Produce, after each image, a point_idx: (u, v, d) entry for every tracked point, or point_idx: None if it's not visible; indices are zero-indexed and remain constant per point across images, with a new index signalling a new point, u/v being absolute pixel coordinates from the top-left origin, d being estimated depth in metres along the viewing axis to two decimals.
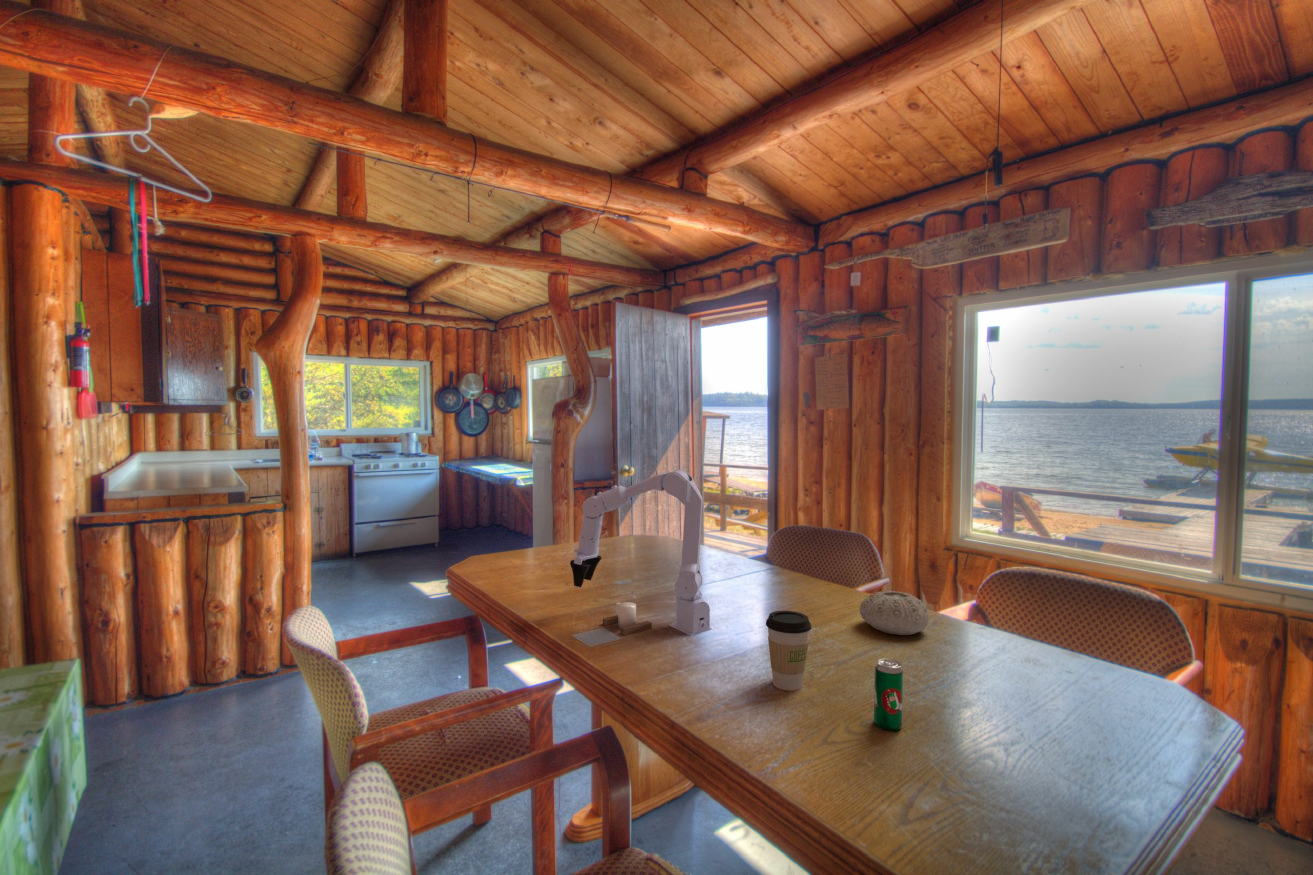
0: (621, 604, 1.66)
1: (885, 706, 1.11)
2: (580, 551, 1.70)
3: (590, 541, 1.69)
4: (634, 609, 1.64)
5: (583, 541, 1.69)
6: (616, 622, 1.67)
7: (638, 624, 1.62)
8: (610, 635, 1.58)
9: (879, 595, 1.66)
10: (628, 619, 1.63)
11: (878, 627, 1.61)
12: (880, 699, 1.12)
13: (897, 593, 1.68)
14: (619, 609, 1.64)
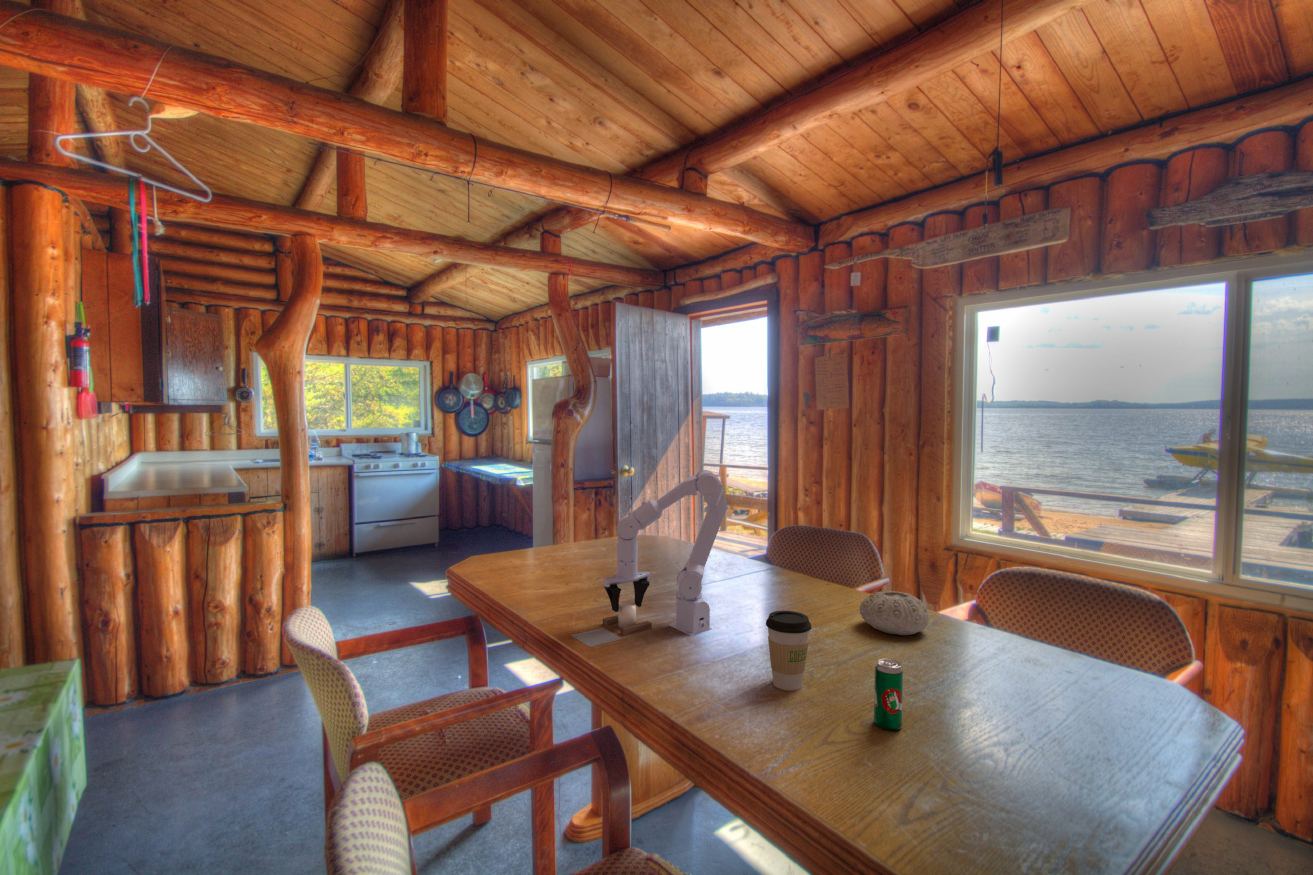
0: (621, 604, 1.65)
1: (885, 706, 1.11)
2: (617, 574, 1.64)
3: (622, 563, 1.62)
4: (634, 609, 1.64)
5: (617, 564, 1.64)
6: (616, 622, 1.67)
7: (638, 624, 1.62)
8: (610, 635, 1.58)
9: (879, 595, 1.66)
10: (628, 619, 1.63)
11: (878, 627, 1.61)
12: (880, 699, 1.12)
13: (897, 593, 1.68)
14: (619, 609, 1.64)
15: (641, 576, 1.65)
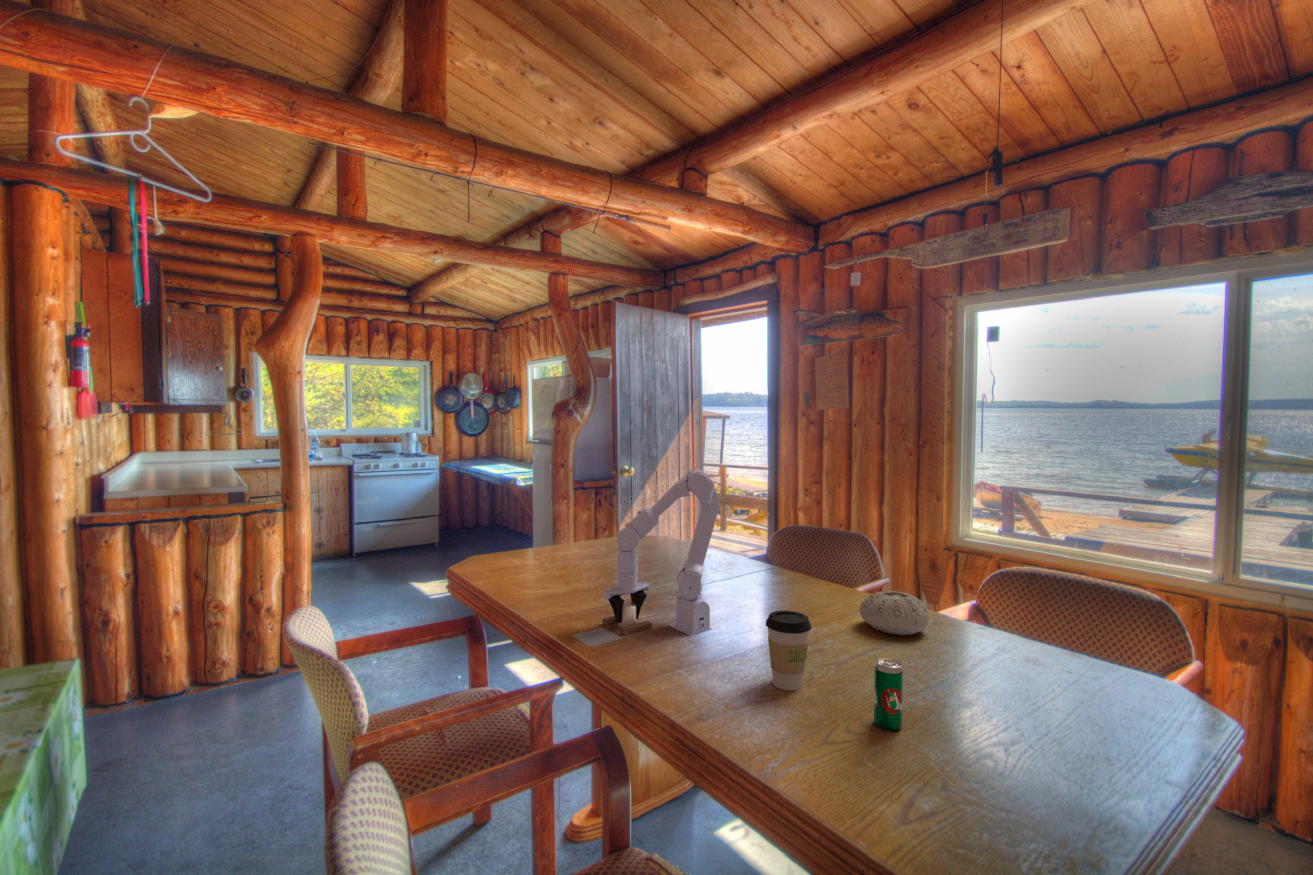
0: None
1: (885, 706, 1.11)
2: (617, 586, 1.64)
3: (622, 575, 1.62)
4: (634, 609, 1.64)
5: (617, 575, 1.64)
6: (616, 622, 1.67)
7: (638, 624, 1.62)
8: (610, 635, 1.58)
9: (879, 595, 1.66)
10: (628, 619, 1.63)
11: (878, 627, 1.61)
12: (880, 699, 1.12)
13: (897, 593, 1.68)
14: None
15: (641, 587, 1.66)
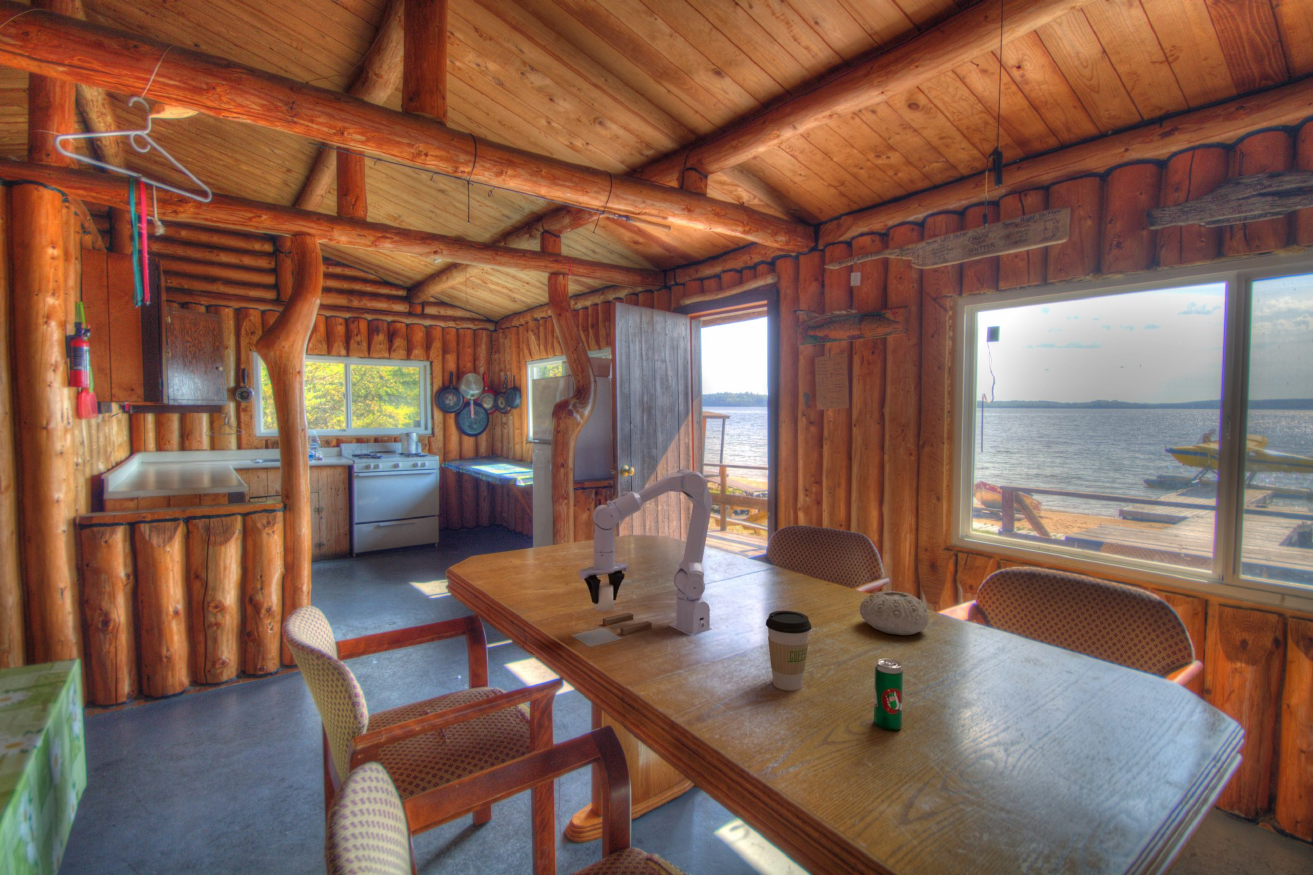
0: None
1: (885, 706, 1.11)
2: None
3: (598, 554, 1.56)
4: (611, 589, 1.57)
5: (594, 555, 1.58)
6: (616, 622, 1.67)
7: (638, 624, 1.62)
8: (610, 635, 1.58)
9: (879, 595, 1.66)
10: (605, 600, 1.56)
11: (878, 627, 1.61)
12: (880, 699, 1.12)
13: (897, 593, 1.68)
14: None
15: (619, 567, 1.59)
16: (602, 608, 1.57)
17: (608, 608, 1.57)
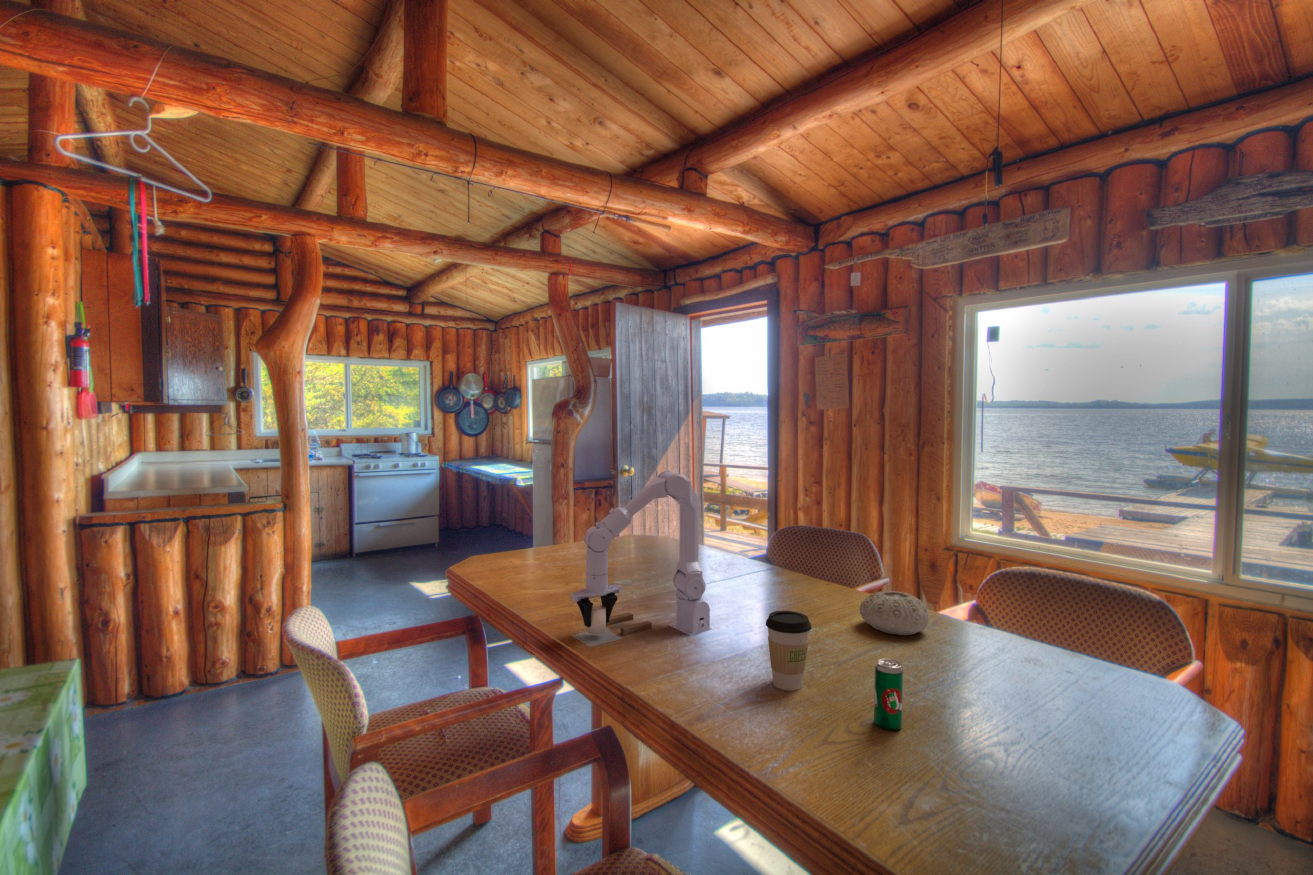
0: None
1: (885, 706, 1.11)
2: (586, 588, 1.56)
3: (590, 577, 1.54)
4: (603, 612, 1.56)
5: (586, 577, 1.56)
6: (616, 622, 1.67)
7: (638, 624, 1.62)
8: (610, 635, 1.58)
9: (879, 595, 1.66)
10: (597, 623, 1.55)
11: (878, 627, 1.61)
12: (880, 699, 1.12)
13: (897, 593, 1.68)
14: None
15: (612, 590, 1.57)
16: (594, 631, 1.55)
17: (601, 631, 1.55)
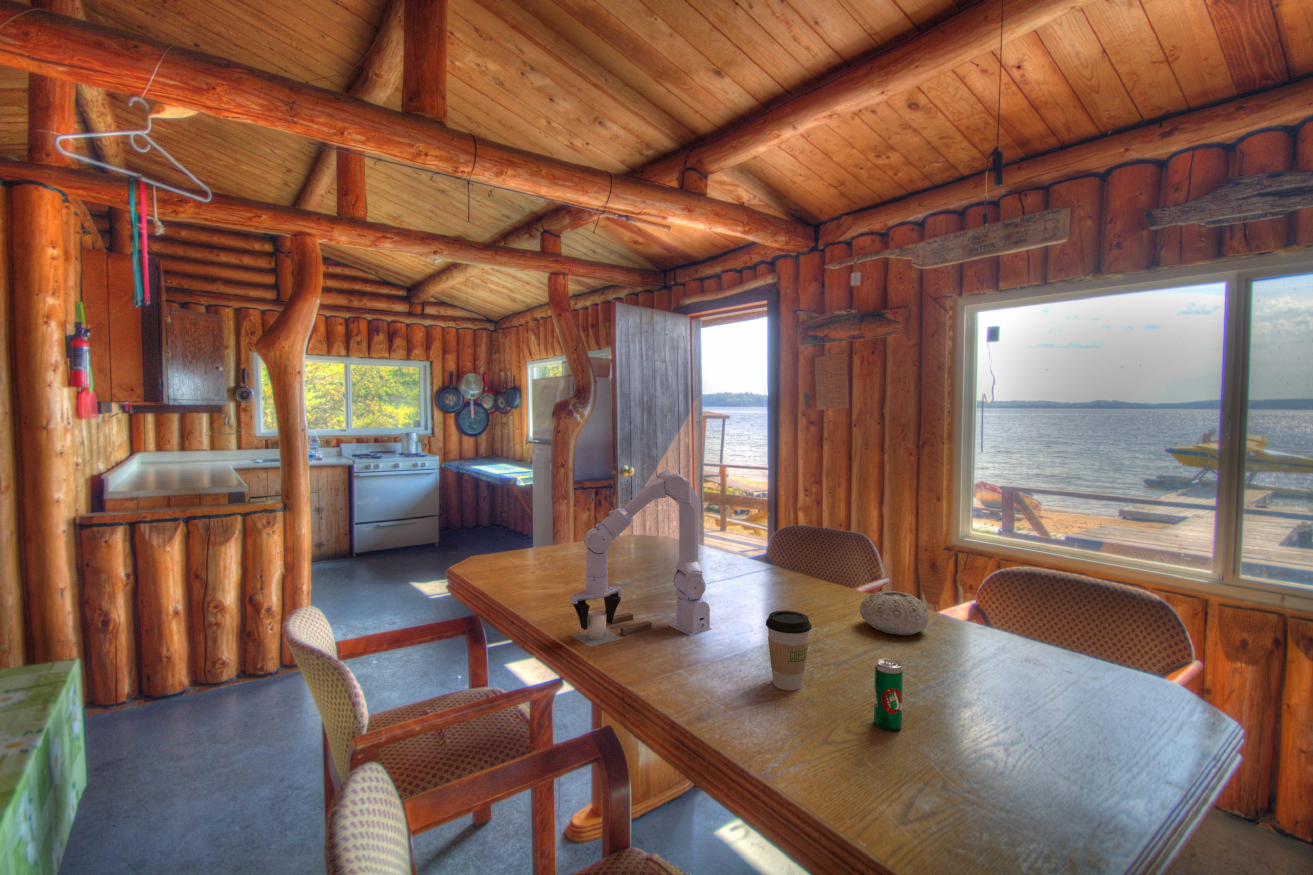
0: (591, 613, 1.57)
1: (885, 706, 1.11)
2: (586, 590, 1.56)
3: (590, 578, 1.54)
4: (604, 619, 1.56)
5: (586, 579, 1.56)
6: (616, 622, 1.67)
7: (638, 624, 1.62)
8: (610, 635, 1.58)
9: (879, 595, 1.66)
10: (597, 630, 1.55)
11: (878, 627, 1.61)
12: (880, 699, 1.12)
13: (897, 593, 1.68)
14: (588, 618, 1.56)
15: (612, 591, 1.57)
16: (595, 637, 1.55)
17: (601, 637, 1.55)
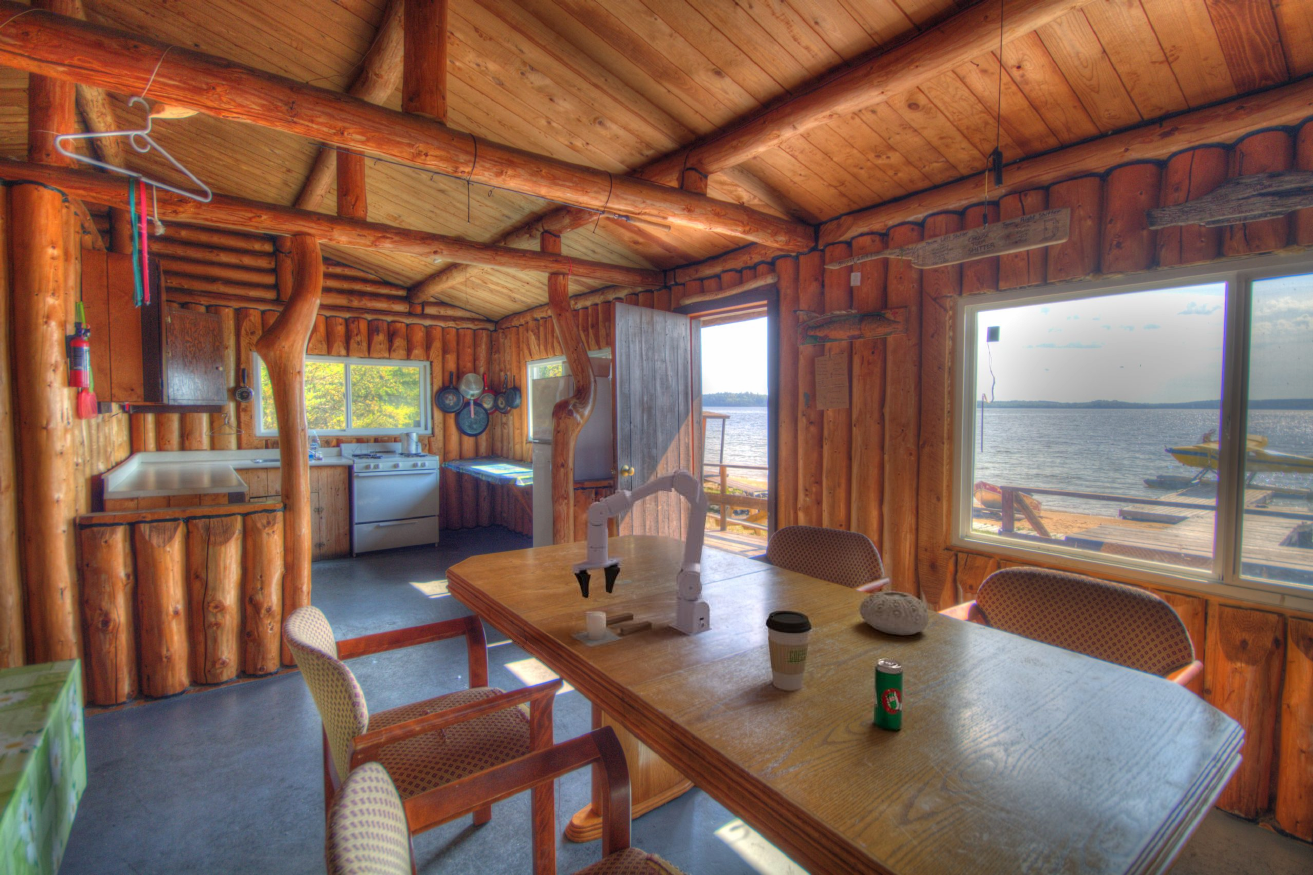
0: (590, 613, 1.57)
1: (885, 706, 1.11)
2: (587, 560, 1.64)
3: (591, 549, 1.61)
4: (603, 618, 1.56)
5: (587, 550, 1.63)
6: (616, 622, 1.67)
7: (638, 624, 1.62)
8: (610, 635, 1.58)
9: (879, 595, 1.66)
10: (597, 630, 1.55)
11: (878, 627, 1.61)
12: (880, 699, 1.12)
13: (897, 593, 1.68)
14: (588, 619, 1.56)
15: (611, 562, 1.65)
16: (594, 637, 1.55)
17: (601, 637, 1.55)
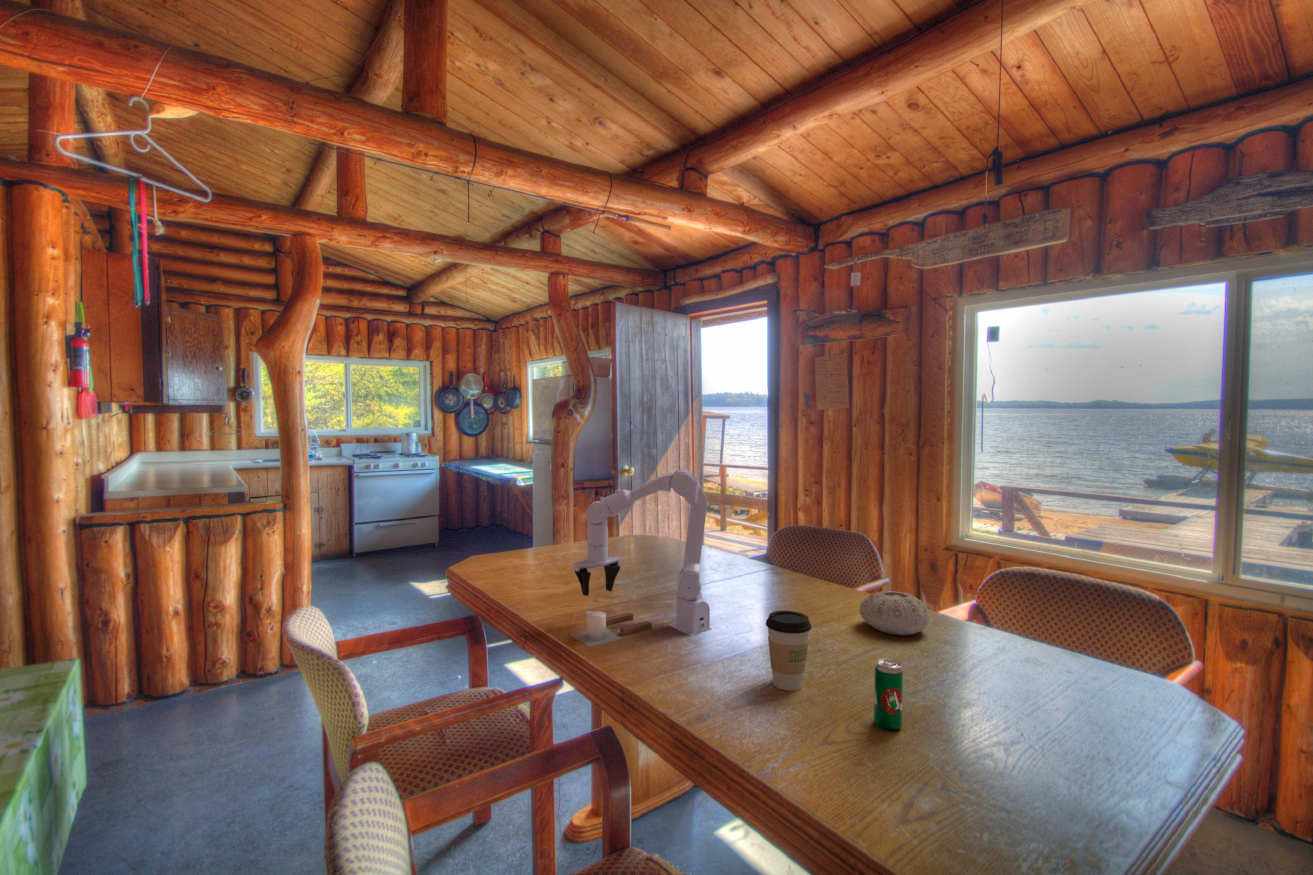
0: (590, 613, 1.57)
1: (885, 706, 1.11)
2: (587, 559, 1.65)
3: (591, 548, 1.63)
4: (603, 619, 1.56)
5: (587, 548, 1.65)
6: (616, 622, 1.67)
7: (638, 624, 1.62)
8: (610, 635, 1.58)
9: (879, 595, 1.66)
10: (597, 630, 1.55)
11: (878, 627, 1.61)
12: (880, 699, 1.12)
13: (897, 593, 1.68)
14: (588, 619, 1.56)
15: (611, 561, 1.67)
16: (594, 638, 1.55)
17: (601, 637, 1.55)
